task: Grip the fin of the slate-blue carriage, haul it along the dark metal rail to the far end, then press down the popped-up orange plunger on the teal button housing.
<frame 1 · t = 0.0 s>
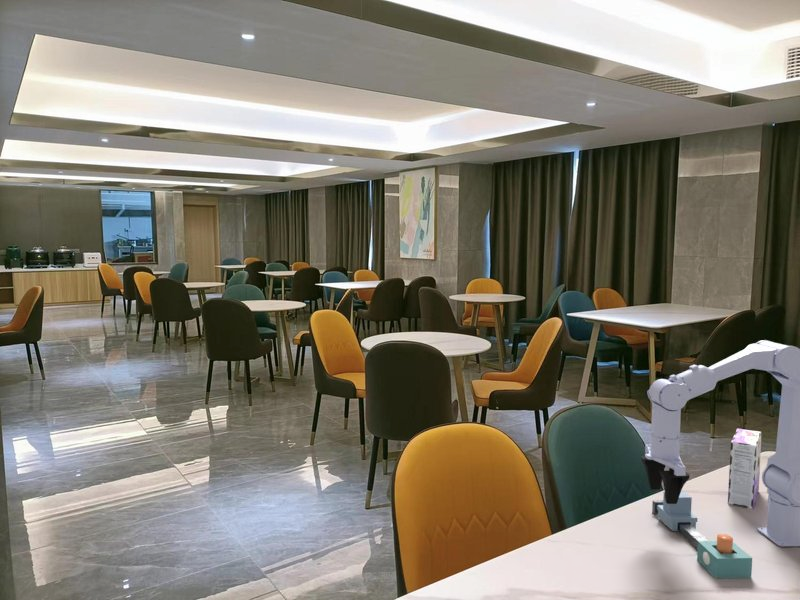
hand: (663, 495, 132), 10 cm above the table, tool pointing down, fingers open, 7 cm apart
carriage: (676, 509, 140), point 4 cm above the table, slide at -4.2 cm
teal button housing: (723, 568, 121), on the table
plunger: (724, 546, 121), point 4 cm above the table, slide at 0.0 cm
rail: (685, 533, 136), on the table
candy box: (743, 498, 156), on the table
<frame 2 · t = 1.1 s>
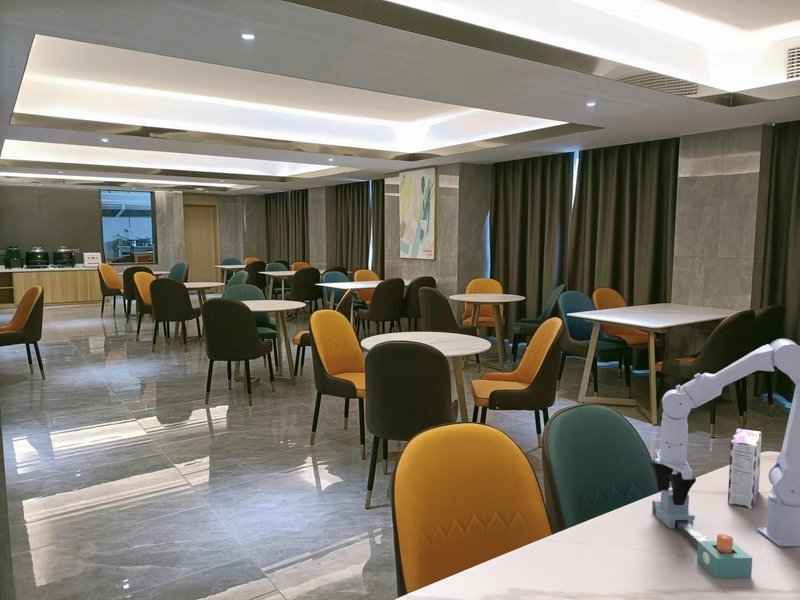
hand: (670, 497, 142), 5 cm above the table, tool pointing down, fingers open, 7 cm apart
carriage: (674, 507, 141), point 4 cm above the table, slide at -5.5 cm
everything else where it was.
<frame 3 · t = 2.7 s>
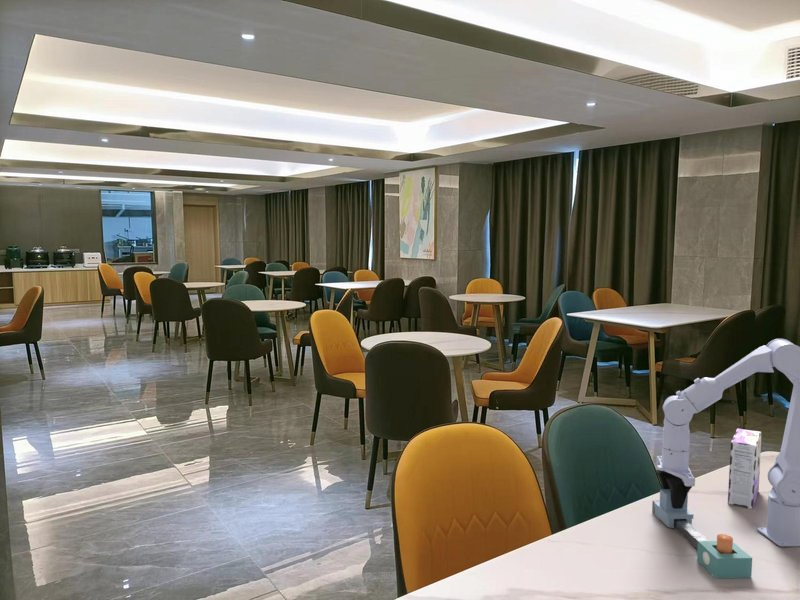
hand: (673, 504, 141), 4 cm above the table, tool pointing down, fingers closed on carriage, 3 cm apart
carriage: (673, 506, 141), point 4 cm above the table, slide at -5.9 cm, touching gripper
everything else where it was.
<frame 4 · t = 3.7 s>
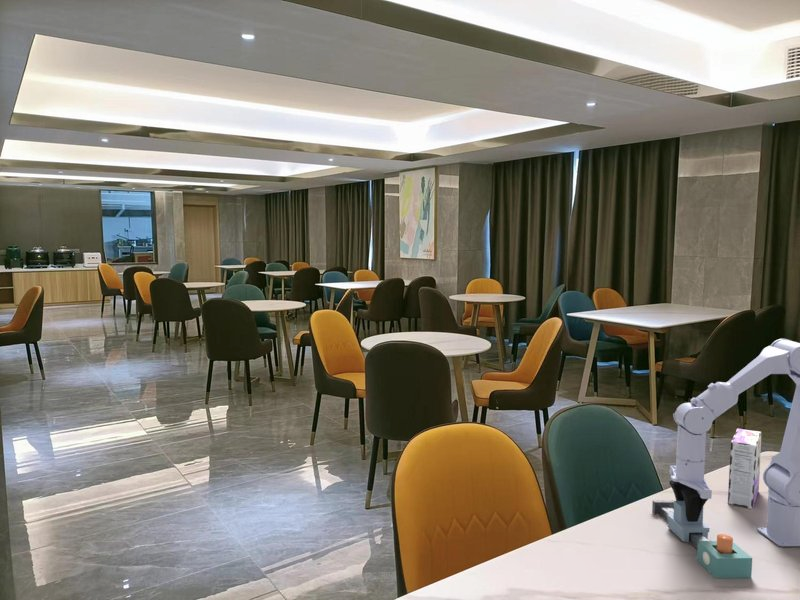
hand: (688, 517, 135), 4 cm above the table, tool pointing down, fingers closed on carriage, 3 cm apart
carriage: (687, 518, 135), point 4 cm above the table, slide at 0.8 cm, touching gripper
everything else where it was.
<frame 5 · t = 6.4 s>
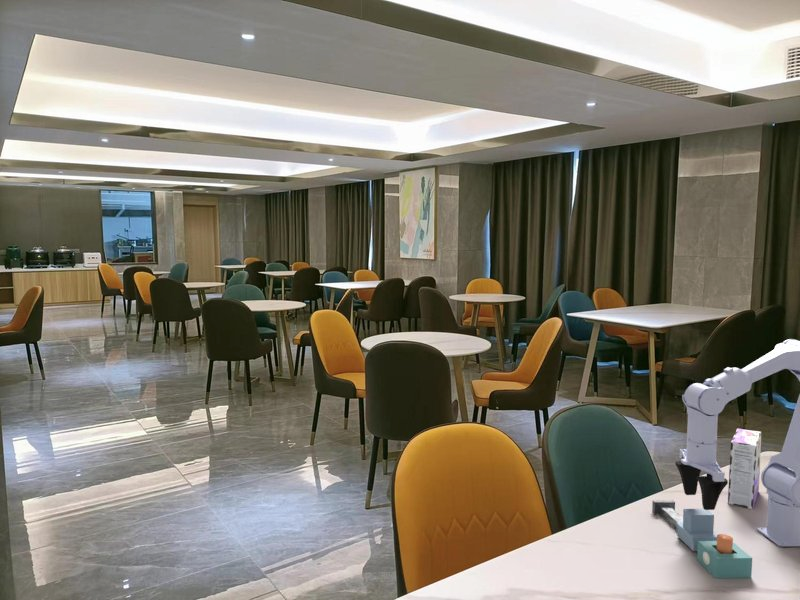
hand: (699, 501, 130), 10 cm above the table, tool pointing down, fingers open, 7 cm apart
carriage: (697, 527, 131), point 4 cm above the table, slide at 5.0 cm
everything else where it was.
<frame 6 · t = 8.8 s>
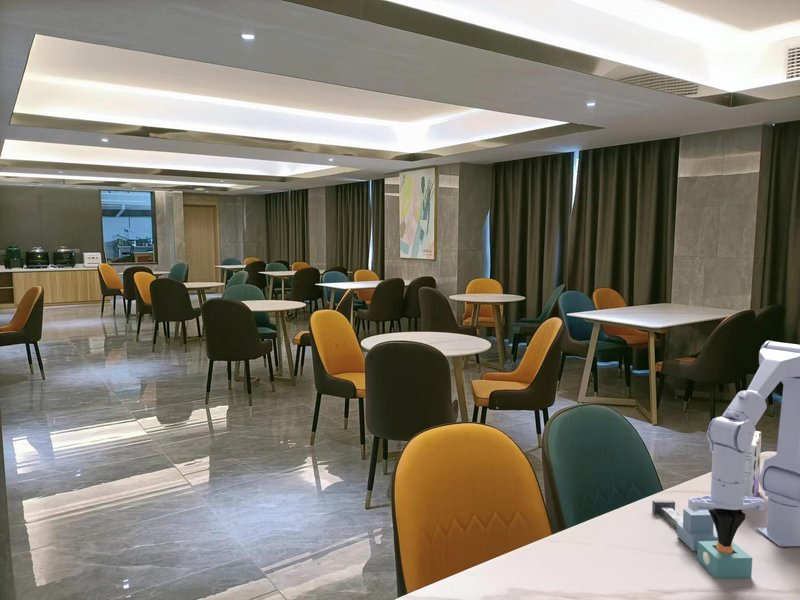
hand: (724, 544, 120), 5 cm above the table, tool pointing down, fingers closed, pressing on plunger
plunger: (724, 553, 121), point 3 cm above the table, slide at 1.4 cm, touching gripper
everything else where it was.
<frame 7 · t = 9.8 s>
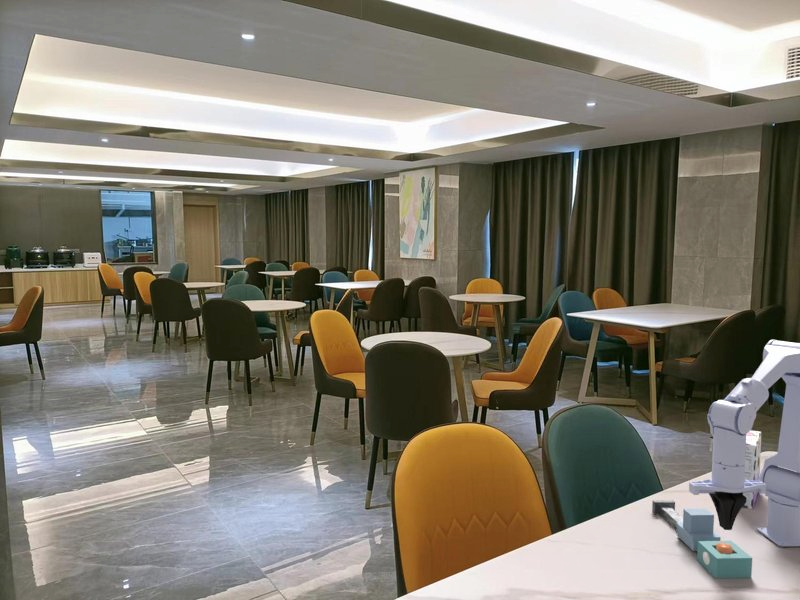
hand: (725, 527, 120), 8 cm above the table, tool pointing down, fingers closed
plunger: (724, 555, 121), point 3 cm above the table, slide at 1.8 cm
everything else where it was.
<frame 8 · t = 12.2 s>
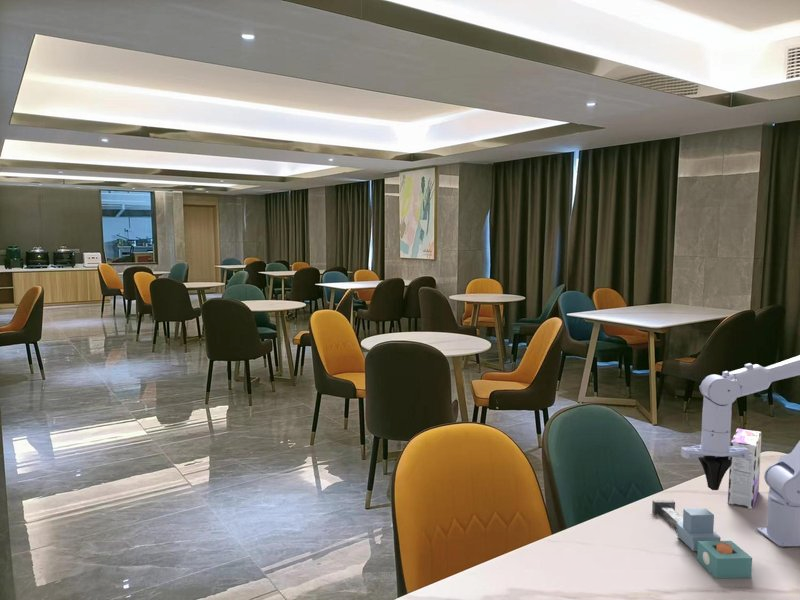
hand: (713, 488, 135), 10 cm above the table, tool pointing down, fingers closed
nothing on the table moved.
at the end: carriage slide at 5.0 cm; plunger slide at 1.8 cm; the gripper is holding nothing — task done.
